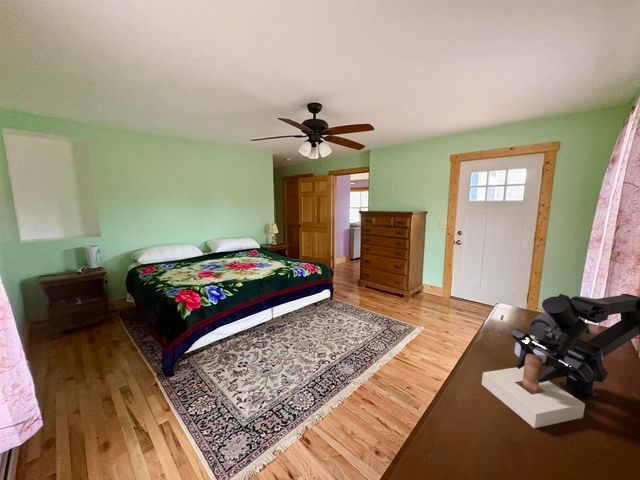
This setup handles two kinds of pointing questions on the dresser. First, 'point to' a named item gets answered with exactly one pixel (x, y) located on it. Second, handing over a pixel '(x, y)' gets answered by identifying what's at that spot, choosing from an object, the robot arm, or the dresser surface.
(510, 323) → the dresser surface
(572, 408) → the hole block
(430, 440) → the dresser surface
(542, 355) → the wedge on round base
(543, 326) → the bluetooth speaker
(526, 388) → the peg
